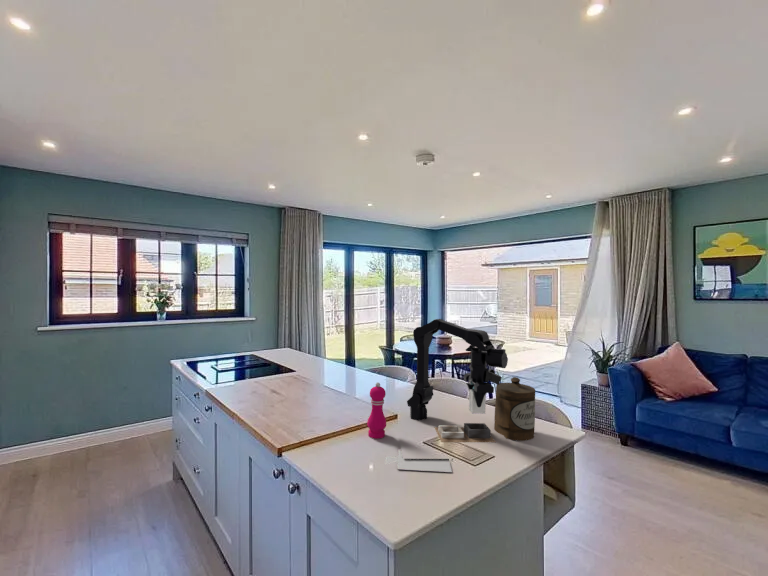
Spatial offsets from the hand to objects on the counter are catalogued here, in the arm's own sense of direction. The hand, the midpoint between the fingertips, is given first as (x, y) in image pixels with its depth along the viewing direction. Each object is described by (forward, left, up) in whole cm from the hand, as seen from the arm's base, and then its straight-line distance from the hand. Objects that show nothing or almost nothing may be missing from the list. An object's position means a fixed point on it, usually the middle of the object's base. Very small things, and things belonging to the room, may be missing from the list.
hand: (477, 405), depth 142 cm
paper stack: (-28, -24, -13) cm, 39 cm away
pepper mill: (-38, +1, -12) cm, 40 cm away
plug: (0, 0, -2) cm, 2 cm away
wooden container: (+16, +4, -12) cm, 21 cm away
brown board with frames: (-5, 0, -12) cm, 13 cm away
